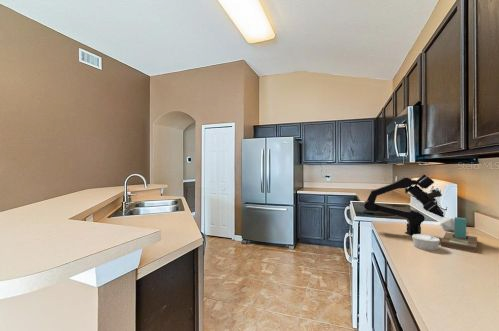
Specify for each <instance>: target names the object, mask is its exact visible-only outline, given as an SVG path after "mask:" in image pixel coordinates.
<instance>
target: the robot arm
mask: <svg viewBox="0 0 499 331" xmlns="http://www.w3.org/2000/svg"><path fill="white" fill-rule="evenodd" d="M433 184H435V181H434V180H433V179H432V178H430V177H428V176H427V175H426V174H422V175H421V176H420V177H419V178H417V179H416V180H415V179H411V178H409V177H406V176H403V177H401V178H398V179H397V180H396V181H394V182H392V183H390V184H387V185H384V186H381V187H379V188H375V189H372V190H371V191H370V194H369V196H368V197H367V199H366V200H365V201H364V202H363V207H364V209H365V210H366V211H369V212H381V213H385V214H388V215H394V216H398V217H400V218H401V217H402V218H405V219H406V222H407V223H406V231H404V233H405V234H407V235H409V236H412V235H414V234H422V227H421V225H422V223H423V222H424V221H425V216H424V214H422V213H421V212H420V211H419V210H417V209H412V208H409V209H408V210H403V209H399V208H394V207H392V206H391V207H390V206H387V205H383V204H379V203H377V202H376V200H377V197H378V196H381V195H383V194H386V193H390V192H391V191H392V192H393V191H394V190H398V189H404V191H405V192H404V194H408V193H410V195H412V196H413V197H414V198H415V200H416V201H418V202H419V203H421V205H422V207H423V210H425V211H427V212H429V213H431V214H434V215H435V216H439V217H441V218H445V212H444V211H443V210H442V209H441V207H440V206H439V204H438V200H437V199H436V198H438V197H442V196H443V195H442V193H441V191H440V190H438V189H435V188H434V189H432V190H431V192H426V191H424V190H423V189H425V190H426V189H428V188H429V187H431V185H433Z"/></svg>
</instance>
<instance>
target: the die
mask: <svg viewBox="0 0 499 331" xmlns="http://www.w3.org/2000/svg"><path fill="white" fill-rule="evenodd" d="M439 226H440V227H441V228H442V230H443V231H445V232H453V231H454V218H453V217H441V221H440V223H439Z"/></svg>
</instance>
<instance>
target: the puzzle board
mask: <svg viewBox="0 0 499 331" xmlns="http://www.w3.org/2000/svg"><path fill="white" fill-rule="evenodd" d="M440 246H441V247H445V248H449V249H455V250H460V251H465V252H470V253H477V248H478V237H477V236H473V235H467V234H466V239H463V238H457V237H455V236H454V233H452V232H448V231H445V233H444V235H443V236H442V239H441V240H440Z"/></svg>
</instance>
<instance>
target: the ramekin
mask: <svg viewBox="0 0 499 331" xmlns="http://www.w3.org/2000/svg"><path fill="white" fill-rule="evenodd" d="M411 238H412V241H413V246H414V247H415V248H417V249H419V250H423V251H430V252H432V251H437V250H438V248H439V244H440V243H441V240H440V239H439V238H438V237H437V236H433V235H428V234H422V233H421V234H414V235H411Z"/></svg>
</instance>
